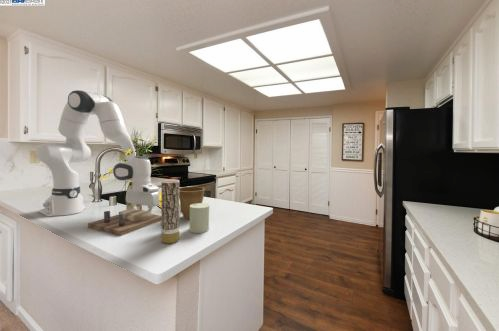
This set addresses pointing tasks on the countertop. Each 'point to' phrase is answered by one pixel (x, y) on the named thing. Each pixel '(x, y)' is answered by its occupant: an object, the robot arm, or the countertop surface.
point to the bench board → (125, 228)
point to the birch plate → (135, 214)
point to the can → (199, 217)
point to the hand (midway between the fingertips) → (142, 212)
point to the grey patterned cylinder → (170, 210)
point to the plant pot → (190, 198)
